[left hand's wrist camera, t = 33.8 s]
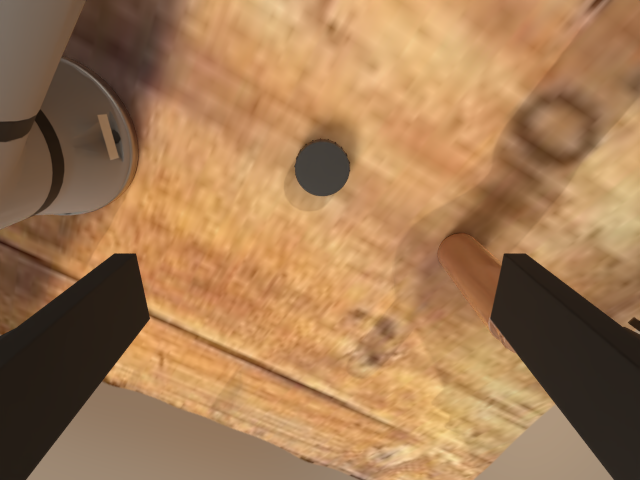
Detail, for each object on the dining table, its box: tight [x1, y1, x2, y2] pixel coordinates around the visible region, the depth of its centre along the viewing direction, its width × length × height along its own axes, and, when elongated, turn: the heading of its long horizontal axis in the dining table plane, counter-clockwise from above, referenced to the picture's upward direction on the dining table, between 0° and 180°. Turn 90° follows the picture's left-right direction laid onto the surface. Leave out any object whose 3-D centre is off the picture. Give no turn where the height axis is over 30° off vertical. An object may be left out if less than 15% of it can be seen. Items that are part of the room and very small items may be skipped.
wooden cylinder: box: [438, 233, 516, 353], centre depth 33 cm, size 5×5×15 cm
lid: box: [295, 139, 350, 196], centre depth 36 cm, size 6×6×2 cm
